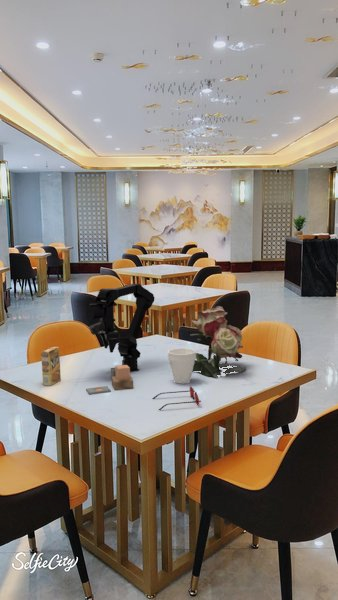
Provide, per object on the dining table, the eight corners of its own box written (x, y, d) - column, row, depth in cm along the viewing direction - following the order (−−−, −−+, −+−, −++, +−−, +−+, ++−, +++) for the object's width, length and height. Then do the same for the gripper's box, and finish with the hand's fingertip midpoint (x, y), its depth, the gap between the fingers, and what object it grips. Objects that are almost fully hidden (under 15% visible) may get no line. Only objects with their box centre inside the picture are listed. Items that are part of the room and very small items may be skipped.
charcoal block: (121, 377, 233) (121, 366, 232) (124, 380, 228) (124, 369, 227) (110, 378, 231) (110, 368, 230) (113, 381, 226) (113, 370, 226)
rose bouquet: (223, 381, 224) (223, 313, 220) (178, 368, 246) (177, 306, 242) (260, 370, 241) (261, 307, 237) (215, 358, 263) (215, 301, 259)
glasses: (201, 408, 192) (201, 395, 192) (157, 411, 189) (157, 398, 189) (192, 396, 206) (192, 384, 205) (151, 399, 203) (151, 387, 202)
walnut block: (130, 383, 224) (129, 375, 223) (133, 389, 216) (133, 380, 215) (111, 385, 222) (111, 376, 221) (114, 391, 214) (114, 381, 214)
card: (107, 387, 218) (107, 385, 217) (110, 391, 212) (110, 389, 212) (86, 390, 214) (86, 388, 214) (89, 394, 209) (89, 392, 209)
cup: (181, 376, 233) (181, 346, 231) (202, 381, 225) (201, 350, 223) (162, 381, 225) (161, 351, 223) (182, 387, 216) (182, 356, 214)
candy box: (51, 386, 221) (49, 351, 219) (42, 385, 222) (40, 350, 220) (61, 380, 229) (59, 346, 227) (52, 379, 231) (51, 346, 228)
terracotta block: (126, 376, 222) (126, 364, 221) (130, 379, 217) (129, 367, 216) (115, 377, 220) (115, 366, 219) (118, 380, 215) (118, 368, 215)
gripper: (85, 314, 237) (86, 347, 239) (95, 321, 220) (96, 356, 222) (108, 313, 241) (109, 345, 243) (120, 319, 224) (121, 354, 226)
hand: (108, 350), depth 233 cm, fingers open, 9 cm apart
